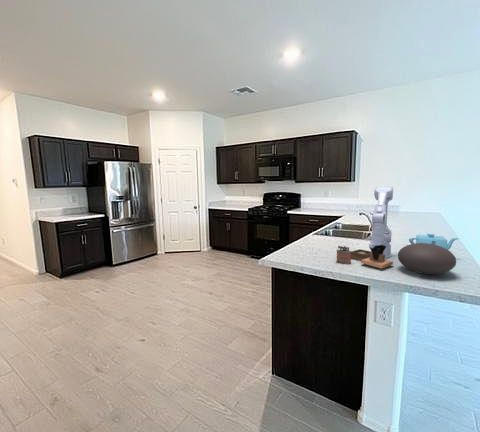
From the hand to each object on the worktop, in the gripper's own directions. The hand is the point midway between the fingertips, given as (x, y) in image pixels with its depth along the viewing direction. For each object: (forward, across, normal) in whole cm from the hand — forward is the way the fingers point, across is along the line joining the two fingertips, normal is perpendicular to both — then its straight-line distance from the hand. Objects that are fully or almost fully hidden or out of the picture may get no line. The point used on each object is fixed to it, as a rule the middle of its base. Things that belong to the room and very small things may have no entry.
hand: (377, 258), depth 147 cm
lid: (+2, 0, 0) cm, 2 cm away
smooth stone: (+4, -9, +20) cm, 22 cm away
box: (+4, -7, -13) cm, 15 cm away
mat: (+4, 0, 0) cm, 4 cm away
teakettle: (+5, -43, +11) cm, 45 cm away
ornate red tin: (+4, +9, -15) cm, 18 cm away
